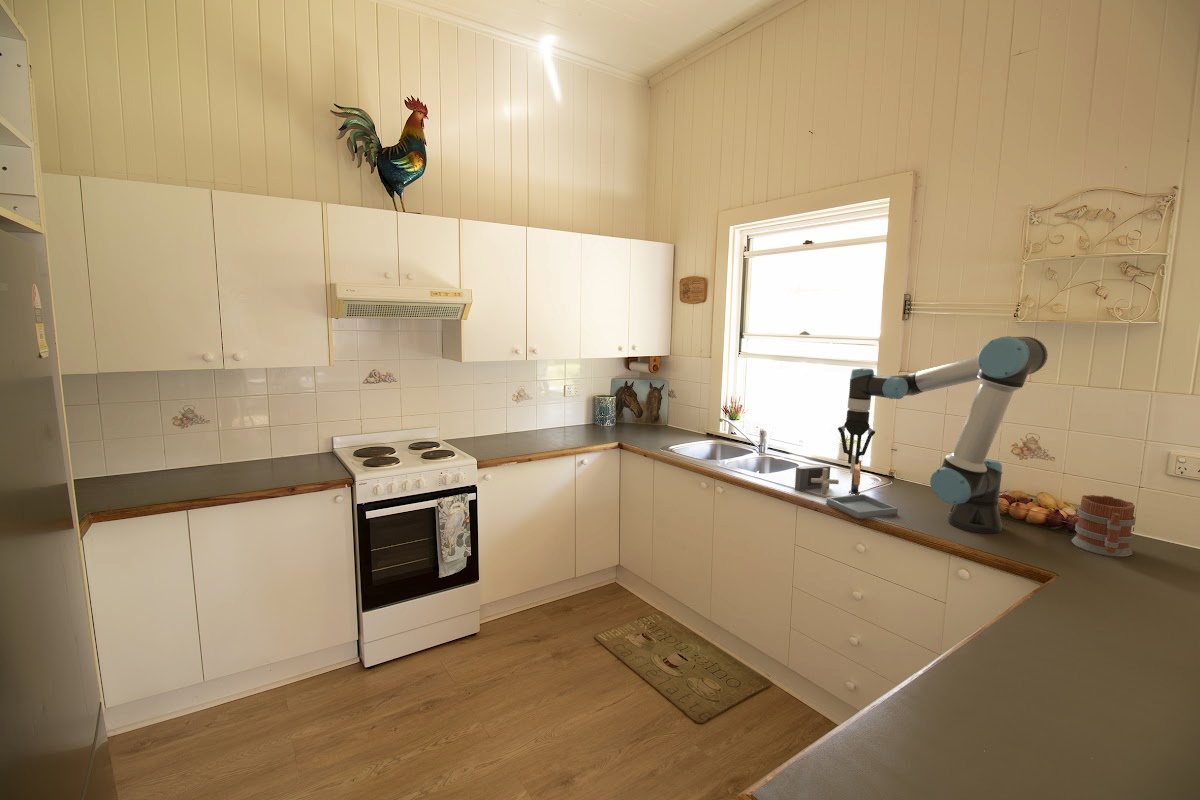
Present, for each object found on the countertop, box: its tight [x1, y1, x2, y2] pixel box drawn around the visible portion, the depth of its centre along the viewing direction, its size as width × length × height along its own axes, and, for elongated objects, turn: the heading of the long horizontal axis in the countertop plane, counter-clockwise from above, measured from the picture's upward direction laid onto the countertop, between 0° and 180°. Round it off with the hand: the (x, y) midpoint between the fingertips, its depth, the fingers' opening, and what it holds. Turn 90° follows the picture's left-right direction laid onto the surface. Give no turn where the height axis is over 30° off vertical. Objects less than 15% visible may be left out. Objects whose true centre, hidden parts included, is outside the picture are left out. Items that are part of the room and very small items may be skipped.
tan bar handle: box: [854, 459, 862, 486], centre depth 214 cm, size 3×23×4 cm, turn 157°
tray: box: [825, 493, 899, 520], centre depth 206 cm, size 17×17×2 cm
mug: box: [1071, 494, 1136, 558], centre depth 170 cm, size 14×19×15 cm
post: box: [848, 473, 861, 495], centre depth 224 cm, size 4×4×10 cm
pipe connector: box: [811, 468, 840, 495], centre depth 224 cm, size 10×10×10 cm
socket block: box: [794, 464, 831, 492], centre depth 231 cm, size 3×14×9 cm, turn 107°
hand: (852, 472), depth 213 cm, fingers closed
